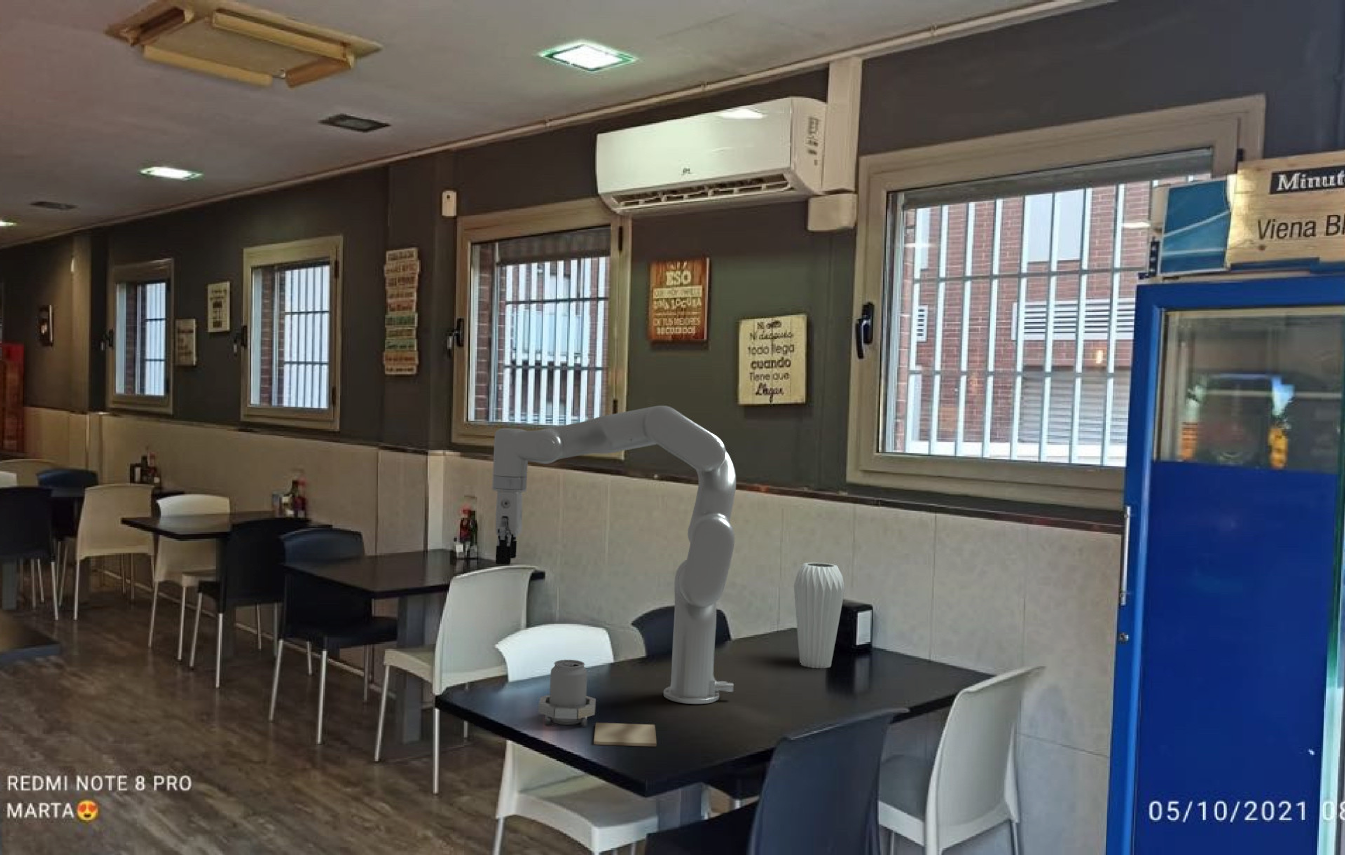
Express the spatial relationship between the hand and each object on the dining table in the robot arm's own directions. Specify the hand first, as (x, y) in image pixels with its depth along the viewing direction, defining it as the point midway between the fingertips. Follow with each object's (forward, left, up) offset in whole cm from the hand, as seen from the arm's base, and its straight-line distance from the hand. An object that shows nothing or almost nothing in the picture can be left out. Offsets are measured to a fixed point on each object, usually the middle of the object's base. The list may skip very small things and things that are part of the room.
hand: (505, 561), depth 233 cm
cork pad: (-28, +27, -30) cm, 49 cm away
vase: (-78, -39, -30) cm, 92 cm away
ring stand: (-16, +18, -30) cm, 38 cm away
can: (-16, +18, -30) cm, 38 cm away
